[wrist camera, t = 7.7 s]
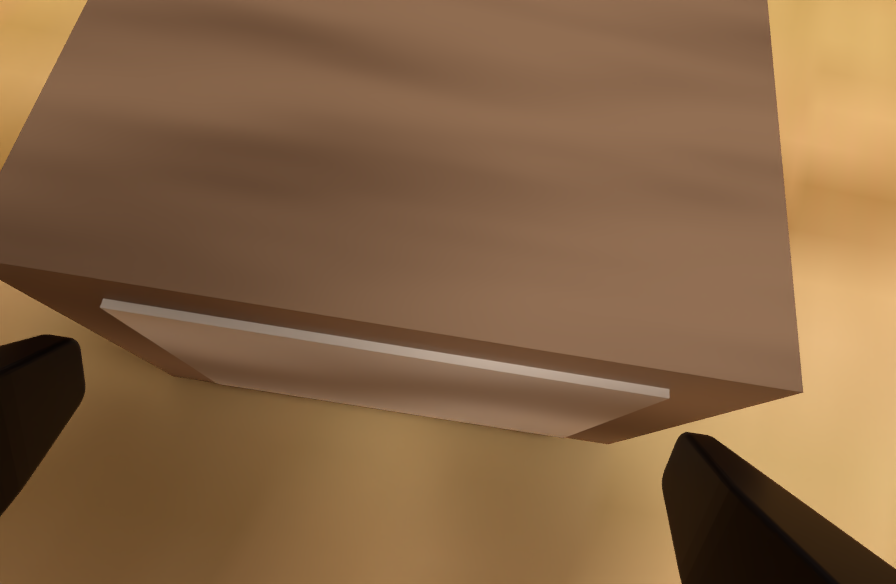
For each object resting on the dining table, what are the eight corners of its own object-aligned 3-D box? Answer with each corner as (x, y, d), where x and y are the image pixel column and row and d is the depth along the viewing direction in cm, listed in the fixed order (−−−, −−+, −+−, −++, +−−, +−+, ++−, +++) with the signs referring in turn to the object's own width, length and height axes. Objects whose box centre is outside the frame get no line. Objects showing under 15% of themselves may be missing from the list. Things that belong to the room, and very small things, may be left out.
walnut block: (804, 402, 8) (766, -12, 11) (-48, 266, 8) (151, -124, 10) (606, 450, 15) (615, 197, 18) (173, 382, 15) (253, 135, 18)
